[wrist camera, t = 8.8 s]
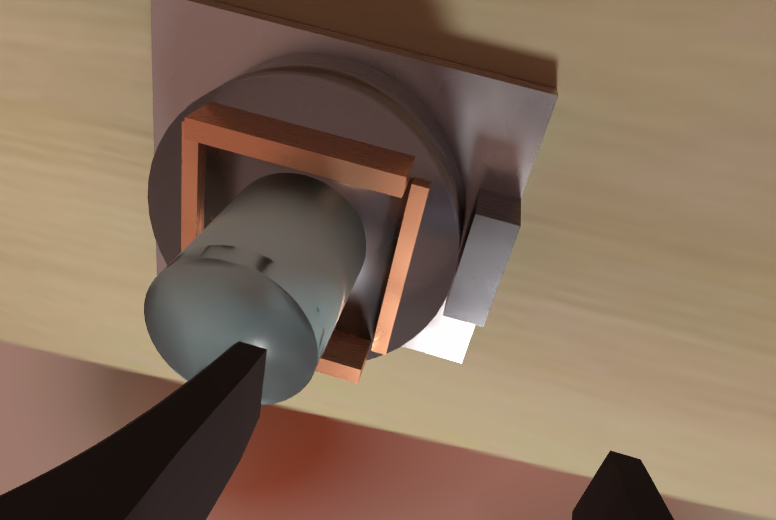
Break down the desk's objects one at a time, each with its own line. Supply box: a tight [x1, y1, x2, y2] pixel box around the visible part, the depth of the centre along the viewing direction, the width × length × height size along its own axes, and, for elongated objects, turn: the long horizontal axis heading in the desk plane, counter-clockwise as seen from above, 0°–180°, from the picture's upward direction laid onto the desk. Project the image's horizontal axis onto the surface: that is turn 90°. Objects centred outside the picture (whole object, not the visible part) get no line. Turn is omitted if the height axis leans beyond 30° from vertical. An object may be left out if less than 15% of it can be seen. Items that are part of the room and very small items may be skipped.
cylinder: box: [144, 173, 366, 405], centre depth 16 cm, size 4×4×5 cm
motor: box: [148, 0, 558, 383], centre depth 19 cm, size 13×11×5 cm
